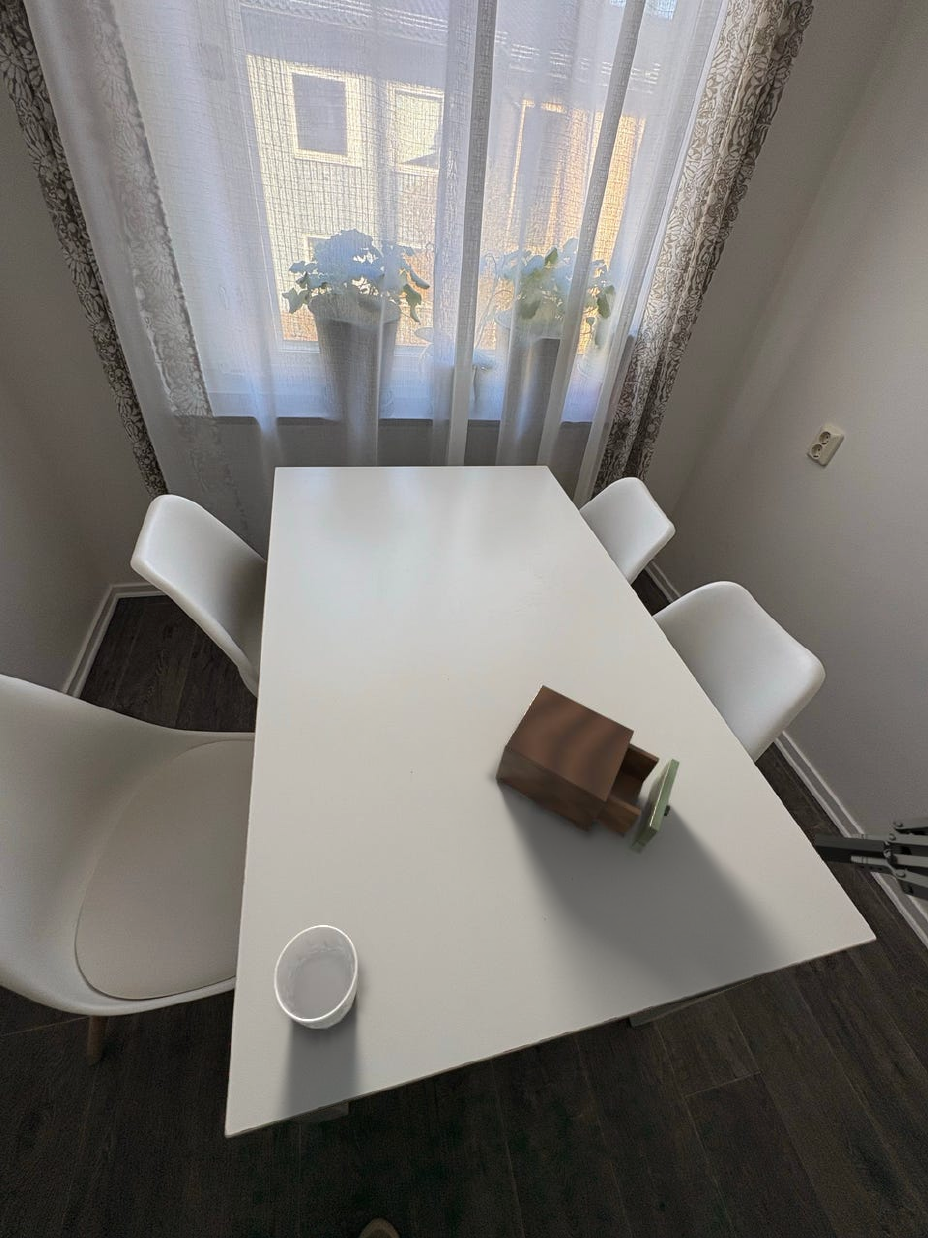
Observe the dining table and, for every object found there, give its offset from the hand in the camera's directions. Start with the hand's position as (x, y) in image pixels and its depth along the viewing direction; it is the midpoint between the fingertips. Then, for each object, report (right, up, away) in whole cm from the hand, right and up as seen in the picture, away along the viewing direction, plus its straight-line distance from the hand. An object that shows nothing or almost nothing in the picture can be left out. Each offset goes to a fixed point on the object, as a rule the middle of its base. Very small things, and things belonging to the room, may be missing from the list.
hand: (818, 847), depth 61 cm
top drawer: (-21, +1, +15) cm, 25 cm away
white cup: (-58, -14, -4) cm, 59 cm away
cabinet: (-28, +4, +18) cm, 33 cm away
